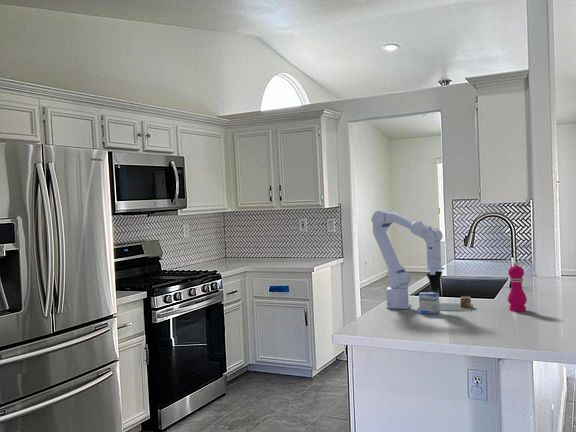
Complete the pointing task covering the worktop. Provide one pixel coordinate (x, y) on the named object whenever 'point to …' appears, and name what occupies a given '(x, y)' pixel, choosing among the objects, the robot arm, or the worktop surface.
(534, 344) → the worktop surface
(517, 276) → the pepper mill
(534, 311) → the worktop surface
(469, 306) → the walnut block
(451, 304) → the mat
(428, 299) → the medicine box
